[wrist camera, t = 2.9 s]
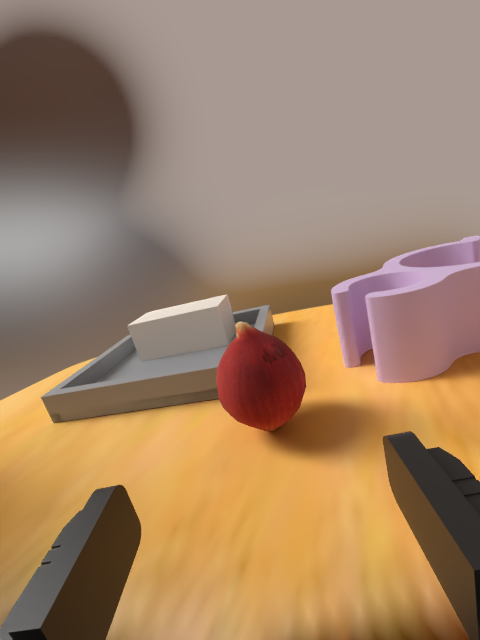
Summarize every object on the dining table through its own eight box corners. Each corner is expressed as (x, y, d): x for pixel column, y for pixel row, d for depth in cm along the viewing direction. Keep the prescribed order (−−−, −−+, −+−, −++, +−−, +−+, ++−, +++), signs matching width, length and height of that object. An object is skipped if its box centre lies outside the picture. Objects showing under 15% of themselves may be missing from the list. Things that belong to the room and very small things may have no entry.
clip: (434, 407, 19) (424, 304, 18) (316, 355, 31) (303, 289, 29) (601, 308, 26) (606, 224, 24) (451, 295, 37) (447, 238, 35)
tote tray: (53, 422, 31) (40, 397, 30) (136, 351, 48) (130, 333, 47) (264, 391, 26) (255, 360, 25) (274, 324, 43) (269, 304, 42)
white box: (140, 361, 39) (127, 325, 38) (159, 343, 45) (148, 312, 44) (228, 345, 37) (217, 305, 35) (236, 328, 42) (227, 294, 41)
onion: (299, 396, 24) (277, 300, 22) (328, 441, 19) (302, 319, 17) (229, 417, 24) (200, 322, 22) (236, 469, 18) (198, 349, 16)
